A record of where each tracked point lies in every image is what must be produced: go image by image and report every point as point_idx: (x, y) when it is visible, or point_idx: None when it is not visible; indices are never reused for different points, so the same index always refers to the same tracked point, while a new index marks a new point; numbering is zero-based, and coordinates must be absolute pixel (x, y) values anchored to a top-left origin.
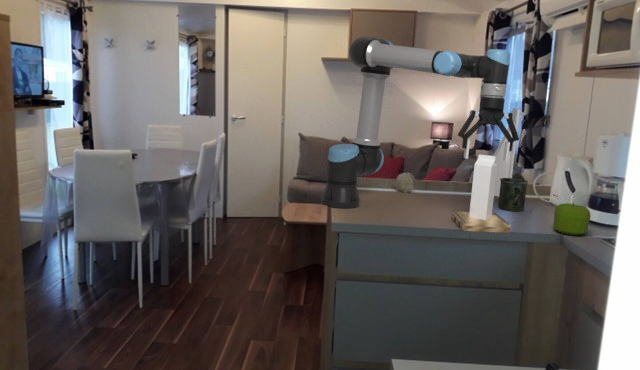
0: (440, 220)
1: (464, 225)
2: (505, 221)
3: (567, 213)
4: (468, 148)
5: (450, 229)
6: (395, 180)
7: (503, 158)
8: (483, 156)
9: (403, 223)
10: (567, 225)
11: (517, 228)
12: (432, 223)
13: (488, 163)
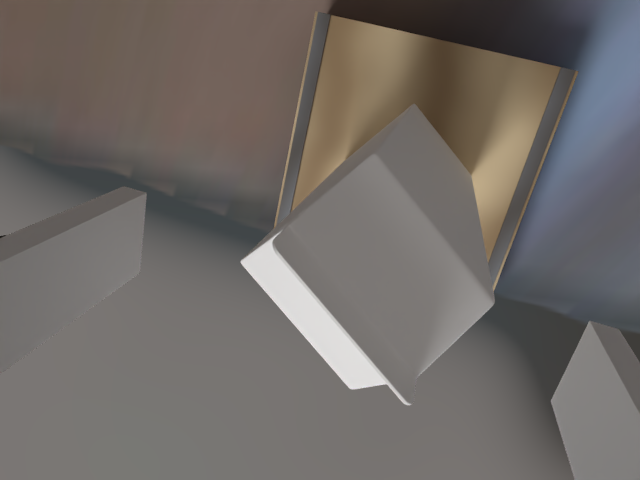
0: (258, 40)
1: None
2: (492, 264)
3: None
4: (56, 326)
5: (241, 204)
6: None
7: (586, 349)
8: (317, 289)
9: (74, 95)
10: None
11: (596, 219)
12: (198, 100)
13: (343, 351)
